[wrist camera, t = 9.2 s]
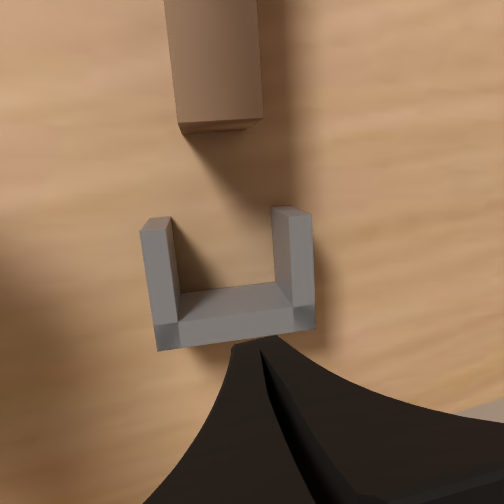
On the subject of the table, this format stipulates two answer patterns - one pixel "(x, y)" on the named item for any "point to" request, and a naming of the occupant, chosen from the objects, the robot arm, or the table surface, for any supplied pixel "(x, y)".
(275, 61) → the table surface
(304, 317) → the gray u-shaped clamp
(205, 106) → the slat
